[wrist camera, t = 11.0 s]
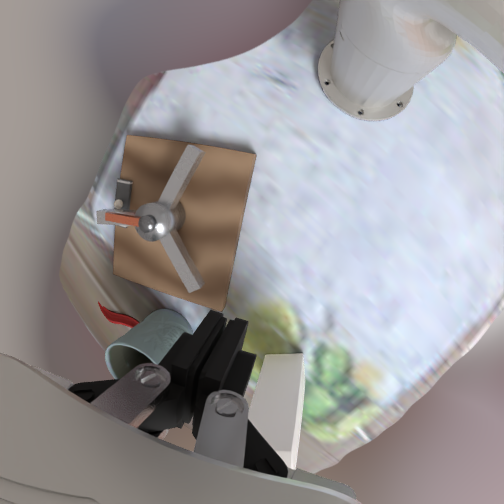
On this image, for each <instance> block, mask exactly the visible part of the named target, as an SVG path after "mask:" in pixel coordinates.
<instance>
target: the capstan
mask: <svg viewBox="0 0 504 504" xmlns="http://www.w3.org/2000/svg"><path fill="white" fill-rule="evenodd" d="M205 153H206V152H204V151H202V150H201V149H199V148H197V147H196V146H194V145H187V147H186V149H185V151H184V152H183V154H182V156H181V158H180V160H179V162H178V164H177V165H176V167H175V169H174V171H173V173H172V175H171V177H170V179H169V181H168V183H167V185H166V186H165V188H164V190H163V192H162V194H161V196H160V199H159V201H155V202H151V203H147V204H144V205H142V206H140V207H139V208H138V210H121V209H103V210H99V211H97V224H109V225H125V226H135V229H136V231H137V233H138V234H139V236H140V237H141V238H143V239H144V240H146V241H150V242H154V241H157V240H160V242H161V244H162V245H163V247H164V249H165V251H166V253H167V255H168V256H169V258H170V260H171V262H172V264H173V266H174V267H175V269H176V271H177V273H178V275H179V276H180V278H181V280H182V282H183V283H184V285H185V287H186V289H187V290H188V292H189V293H191V292H193V291H195V290H198V289H200V288H201V287H202V286H203V285H204V284H205V282H204V280H203V278H202V276H201V275H200V273H199V271H198V269H197V267H196V266H195V264H194V262H193V260H192V258H191V256H190V255H189V253H188V251H187V249H186V247H185V245H184V244H183V242H182V240H181V238H180V236H179V234H178V232H177V230H179V229H180V228H181V227H182V226H183V225H184V223H185V218H186V214H185V210H184V207H183V206H182V204H181V203H180V202H179V200H180V198H181V196H182V194H183V193H184V191H185V189H186V187H187V185H188V183H189V181H190V180H191V178H192V176H193V174H194V172H195V171H196V169H197V167H198V165H199V164H200V162H201V160H202V158H203V157H204V155H205Z"/></svg>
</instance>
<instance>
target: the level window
mask: <svg viewBox="0 0 504 504" xmlns="http://www.w3.org/2000/svg"><path fill="white" fill-rule="evenodd" d="M132 184H133V181H131V180H126V179H118V180H117V190H116V199H115V201H116V200H118V199H120V200H122V202H123V207H122V208H121V210H129V209H130V200H131V191H132ZM115 209H116V208H115ZM116 226H119V227H123V228H127V227H128V226H125V225H116Z"/></svg>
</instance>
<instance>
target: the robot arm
mask: <svg viewBox="0 0 504 504" xmlns="http://www.w3.org/2000/svg"><path fill="white" fill-rule="evenodd" d="M457 35H458V36H459V37H460V38H462V39H463V40H465V41H467V42H468V43H470V44H471V45H472V46H473V47H475V48H476V49H477V50H478V51H479V52H481V53H482V54H483V55H484V56H485V57H486V58H487V59H489V60H490V61H491V62H492V63H493V64H494V65H495V66H496V67H497V68H498V69H499V70H500V71H502V72H503V73H504V0H340V4H339V11H338V18H337V26H336V33H335V39H334V40H332V41H331V42H330V43H329V44H328V45H327V46H326V47H325V48H324V50H323V51H322V53H321V55H320V58H319V62H318V77H319V81H320V84H321V87H322V89H323V91H324V93H325V94H326V96H327V97H328V99H329V100H330V101H331V102H332V103H333V104H334V105H335V106H336V107H337V108H339V109H340V110H341V111H343V112H344V113H346V114H348V115H350V116H352V117H355V118H357V119H360V120H366V121H382V120H387V119H389V118H392V117H394V116H396V115H397V114H399V113H400V112H401V111H403V110H404V109H405V108H406V106H407V105H408V103H409V102H410V100H411V97H412V94H413V88H414V85H415V84H416V83H418V82H419V81H420V80H422V79H423V78H424V77H425V76H427V75H428V74H429V73H430V72H432V71H433V70H434V69H435V68H437V67H438V66H439V65H440V64H442V63H443V62H444V61H445V60H446V59H447V58H448V57H449V55H450V54H451V52H452V50H453V48H454V46H455V42H456V37H457ZM332 47H333V48H332ZM326 82H327V83H329V85H325V83H326ZM397 104H399V105H400V107H398V106H397ZM359 111H360V112H361V113H362V114H361V115H359V114H358V112H359ZM226 322H227V318H224V317H223V314H222V313H219V312H216V311H213V310H210V311H209V313H208V314H207V316H206V317H205V318H204V320H203V321H202V322H201V324H200V325H199V327H198V328H197V329H196V331H195V332H194V334H193V335H192V334H189V333H187V332H184V333H183V334H182V335H181V336H180V337H179V338H178V340H177V341H176V342H175V344H174V345H173V346H172V347H171V349H170V350H169V351H168V352H167V354H166V355H165V356H164V358H163V359H162V360H161V361H160V363H159V364H153V363H144V364H140V365H138V366H136V367H135V368H133V369H132V370H131V371H130V372H128V373H127V374H126V375H125V376H124V377H122V378H121V379H114V380H105V381H95V382H84V383H78V384H75V385H74V384H73V383H72V381H70V380H68V379H65V378H62V377H60V376H57V375H55V374H52V373H50V372H47V371H45V370H43V369H40V368H38V367H35V366H30V365H28V364H26V363H25V362H23V361H21V360H19V359H17V358H15V357H12V356H9V355H6V354H2V353H0V504H362V503H360V502H358V501H357V500H356V495H355V492H354V490H353V489H352V488H350V486H347V485H345V484H343V483H339V482H336V481H332V480H330V479H327V478H323V477H320V476H318V475H315V474H312V473H309V472H306V471H303V470H301V469H298V468H297V469H296V470H294V469H291V468H288V467H287V465H286V464H285V462H284V461H283V460H282V459H281V457H280V456H279V455H278V454H277V453H276V452H275V451H274V449H273V448H272V447H271V446H270V445H269V444H268V442H267V441H266V440H265V439H264V438H263V436H262V435H261V434H260V433H259V431H258V430H257V429H256V428H255V427H254V425H253V424H252V423H251V422H250V420H249V419H248V411H249V407H248V403H247V401H246V399H245V398H244V394H245V391H246V388H247V385H248V382H249V379H250V376H251V372H252V369H253V366H254V362H255V359H256V354H252V353H249V352H245V351H242V346H243V342H244V338H245V334H246V330H247V326H248V321H246V320H242V319H239V318H235V320H231V319H230V321H229V322H228V324H227V326H226ZM225 327H226V328H225ZM192 417H193V423H192V425H193V430H192V434H193V436H194V437H195V439H196V444H195V448H194V452H192V451H189V450H186V449H184V448H181V447H179V446H176V445H173V444H171V443H169V442H166V441H164V440H162V439H163V438H164V437H165V436H166V434H167V432H168V429H170V428H175V427H178V428H182V426H183V424H184V422H185V423H188V424H189V423H190V421H191V419H192Z"/></svg>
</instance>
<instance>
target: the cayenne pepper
mask: <svg viewBox="0 0 504 504" xmlns="http://www.w3.org/2000/svg"><path fill="white" fill-rule="evenodd" d="M98 304H99V306H100V309H101V311H102V313H103V314H104V316H105V317H106V318H107V319H108V320H109V321H110V322H112V323H115V324H122V325H125V326H128V327H131V328H133V327H134V326H136V325H137V324H138V323H140V322H138V321H137V320H136V319H134V318H132V317H130V316H127V315H124V314H118V313H114V312H112V311H109V310H108V309H106V308H105V307H104V306H103V307H102V306H101V305H100V303H99V302H98Z"/></svg>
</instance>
